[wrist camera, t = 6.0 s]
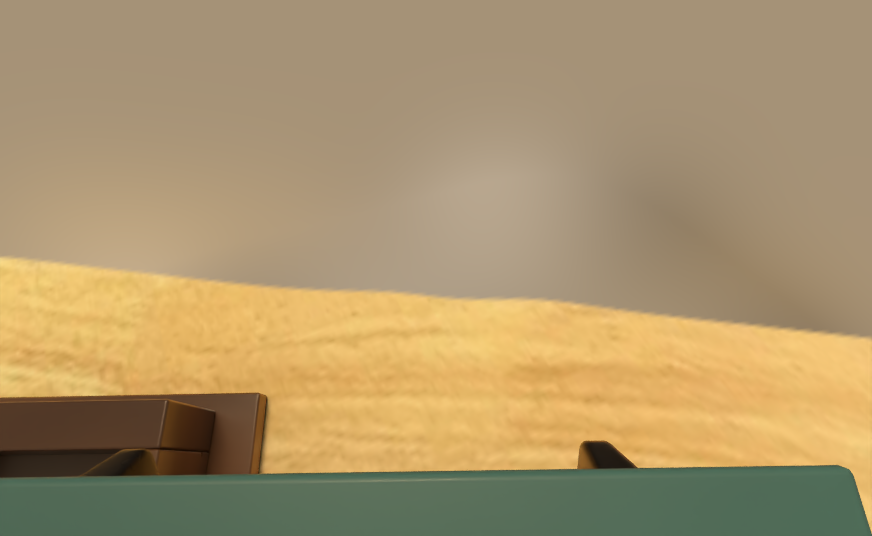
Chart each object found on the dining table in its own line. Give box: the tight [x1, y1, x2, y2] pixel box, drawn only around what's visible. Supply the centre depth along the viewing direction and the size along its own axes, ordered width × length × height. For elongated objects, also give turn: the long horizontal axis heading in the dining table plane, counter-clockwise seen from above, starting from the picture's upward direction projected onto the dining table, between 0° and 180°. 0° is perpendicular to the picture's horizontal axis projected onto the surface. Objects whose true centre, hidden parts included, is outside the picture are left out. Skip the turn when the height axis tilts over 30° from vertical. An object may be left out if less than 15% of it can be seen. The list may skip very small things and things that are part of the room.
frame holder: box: [0, 393, 267, 478], centre depth 15 cm, size 8×14×4 cm, turn 91°
